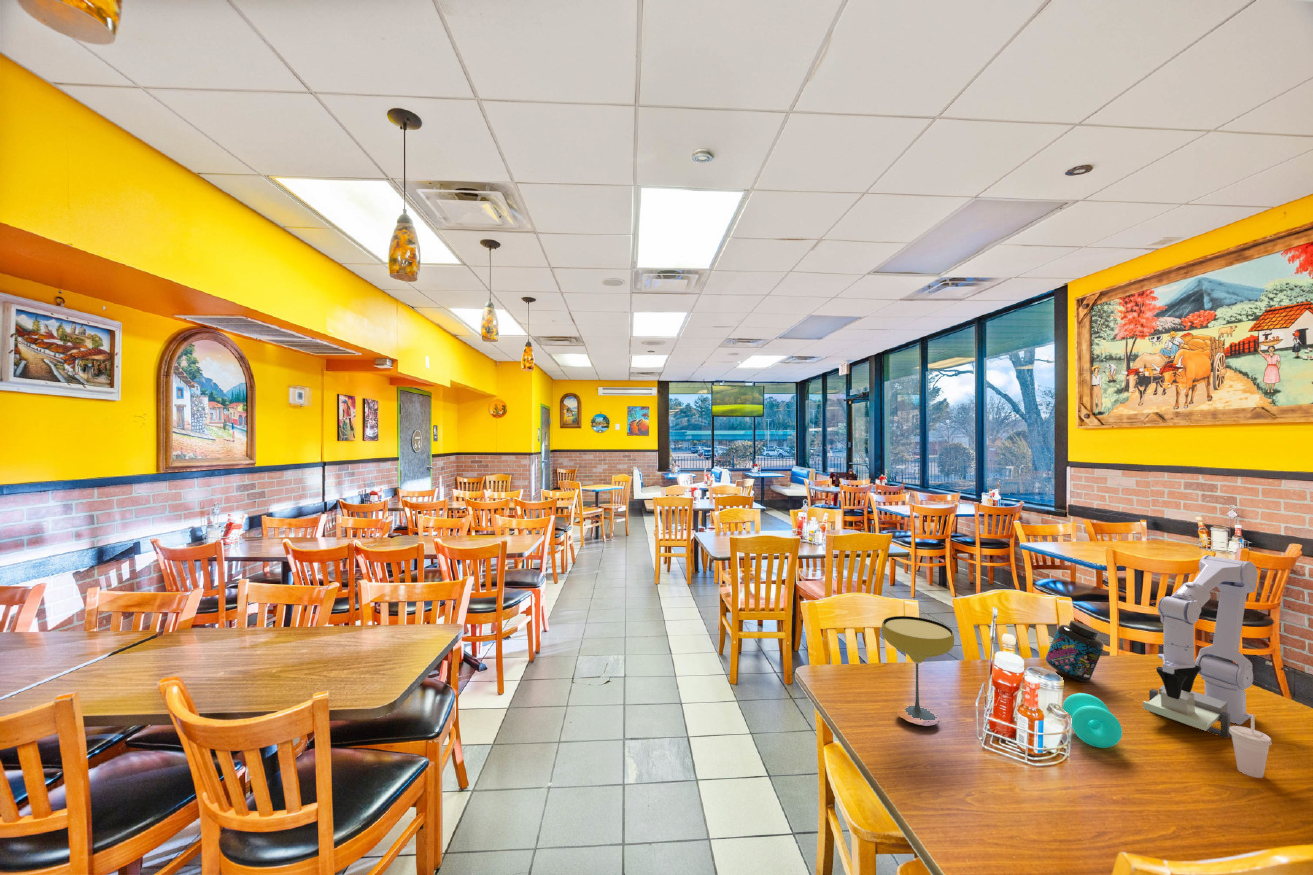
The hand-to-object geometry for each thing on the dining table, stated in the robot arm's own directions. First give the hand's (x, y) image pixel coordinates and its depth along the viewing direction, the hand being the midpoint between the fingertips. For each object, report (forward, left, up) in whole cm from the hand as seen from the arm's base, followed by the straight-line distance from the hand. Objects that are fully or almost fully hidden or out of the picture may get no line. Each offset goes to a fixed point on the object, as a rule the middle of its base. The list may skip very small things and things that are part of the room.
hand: (1179, 694), depth 135 cm
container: (-11, -28, -10) cm, 32 cm away
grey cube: (0, 0, -5) cm, 5 cm away
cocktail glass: (+56, -37, -10) cm, 68 cm away
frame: (-6, 0, -9) cm, 11 cm away
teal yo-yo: (+26, -9, -10) cm, 29 cm away
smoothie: (+11, +15, -10) cm, 21 cm away
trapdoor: (-6, 0, -4) cm, 7 cm away
